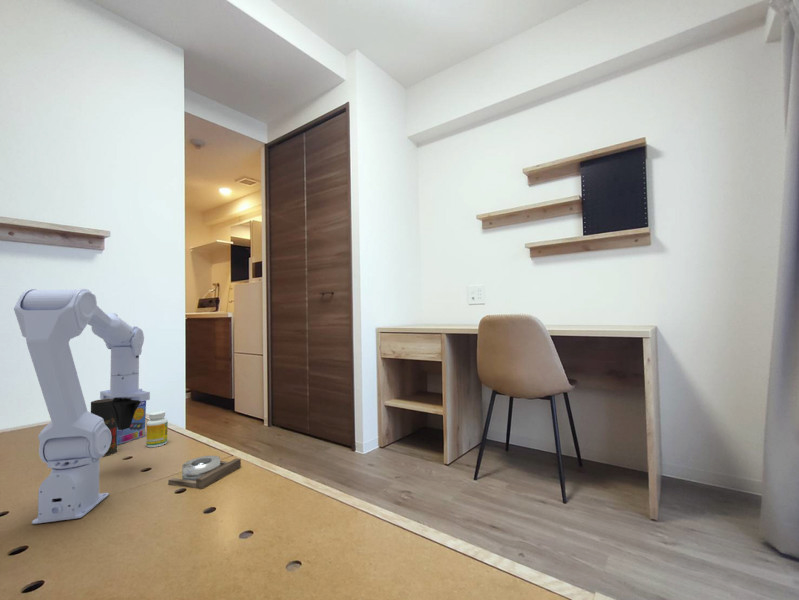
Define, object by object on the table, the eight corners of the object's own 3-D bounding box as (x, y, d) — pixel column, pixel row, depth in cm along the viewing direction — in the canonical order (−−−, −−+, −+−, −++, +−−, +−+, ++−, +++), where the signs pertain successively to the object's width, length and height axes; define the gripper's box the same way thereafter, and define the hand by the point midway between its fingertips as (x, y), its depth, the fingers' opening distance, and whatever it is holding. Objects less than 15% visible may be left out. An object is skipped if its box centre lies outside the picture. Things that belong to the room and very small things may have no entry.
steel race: (215, 479, 84) (214, 466, 84) (176, 484, 82) (176, 470, 82) (224, 466, 92) (223, 453, 92) (189, 470, 90) (189, 457, 90)
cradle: (240, 467, 90) (240, 458, 90) (201, 488, 79) (201, 479, 79) (210, 463, 93) (210, 455, 93) (168, 484, 82) (168, 475, 82)
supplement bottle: (145, 444, 110) (145, 412, 110) (166, 440, 113) (166, 409, 113) (146, 449, 105) (147, 416, 106) (168, 444, 109) (168, 412, 109)
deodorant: (85, 458, 99) (86, 403, 100) (96, 451, 105) (97, 399, 105) (110, 456, 100) (111, 401, 101) (120, 448, 106) (121, 397, 107)
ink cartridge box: (115, 446, 109) (116, 397, 109) (102, 445, 110) (103, 397, 111) (146, 436, 118) (147, 391, 119) (134, 434, 120) (134, 390, 121)
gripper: (161, 372, 93) (160, 425, 92) (120, 371, 97) (119, 422, 96) (133, 376, 86) (133, 434, 85) (91, 375, 90) (90, 430, 90)
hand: (124, 428), depth 90 cm, fingers closed
